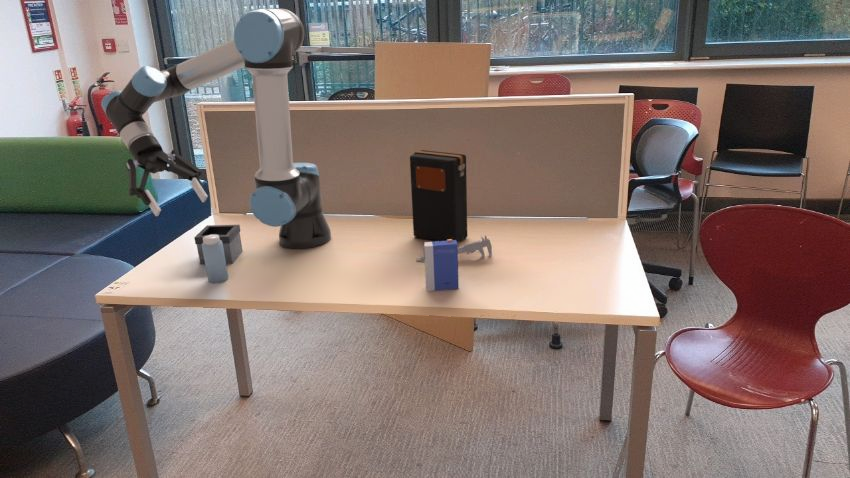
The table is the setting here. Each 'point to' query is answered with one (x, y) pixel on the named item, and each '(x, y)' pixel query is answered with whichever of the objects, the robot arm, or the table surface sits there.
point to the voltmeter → (439, 195)
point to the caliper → (472, 248)
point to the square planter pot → (228, 238)
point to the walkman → (441, 265)
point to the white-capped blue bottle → (214, 259)
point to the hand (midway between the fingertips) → (182, 206)
